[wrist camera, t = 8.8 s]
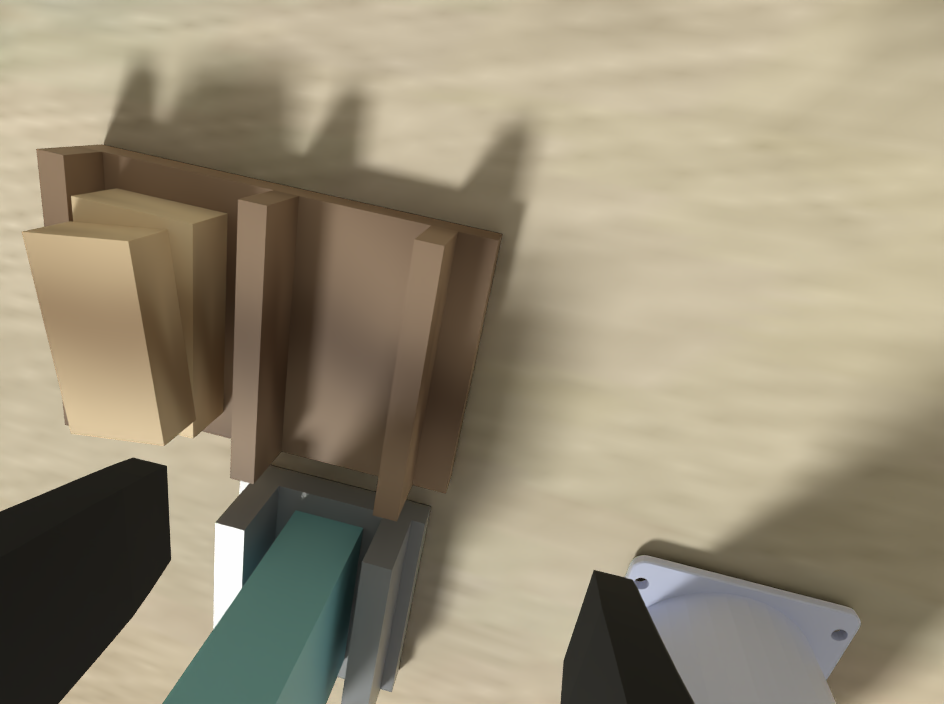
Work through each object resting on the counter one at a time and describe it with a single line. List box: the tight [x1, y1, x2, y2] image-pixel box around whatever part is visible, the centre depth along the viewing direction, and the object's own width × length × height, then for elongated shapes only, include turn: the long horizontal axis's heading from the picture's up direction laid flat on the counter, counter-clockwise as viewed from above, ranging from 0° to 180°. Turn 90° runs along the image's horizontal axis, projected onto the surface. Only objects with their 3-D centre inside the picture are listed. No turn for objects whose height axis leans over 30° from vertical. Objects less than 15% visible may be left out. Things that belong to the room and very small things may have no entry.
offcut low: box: [71, 188, 228, 438], centre depth 18 cm, size 7×4×2 cm, turn 169°
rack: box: [36, 145, 502, 522], centre depth 19 cm, size 9×13×3 cm
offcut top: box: [22, 221, 196, 446], centre depth 17 cm, size 6×3×2 cm, turn 177°
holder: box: [213, 465, 431, 704], centre depth 22 cm, size 9×7×4 cm
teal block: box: [162, 510, 363, 704], centre depth 19 cm, size 7×3×9 cm, turn 169°
